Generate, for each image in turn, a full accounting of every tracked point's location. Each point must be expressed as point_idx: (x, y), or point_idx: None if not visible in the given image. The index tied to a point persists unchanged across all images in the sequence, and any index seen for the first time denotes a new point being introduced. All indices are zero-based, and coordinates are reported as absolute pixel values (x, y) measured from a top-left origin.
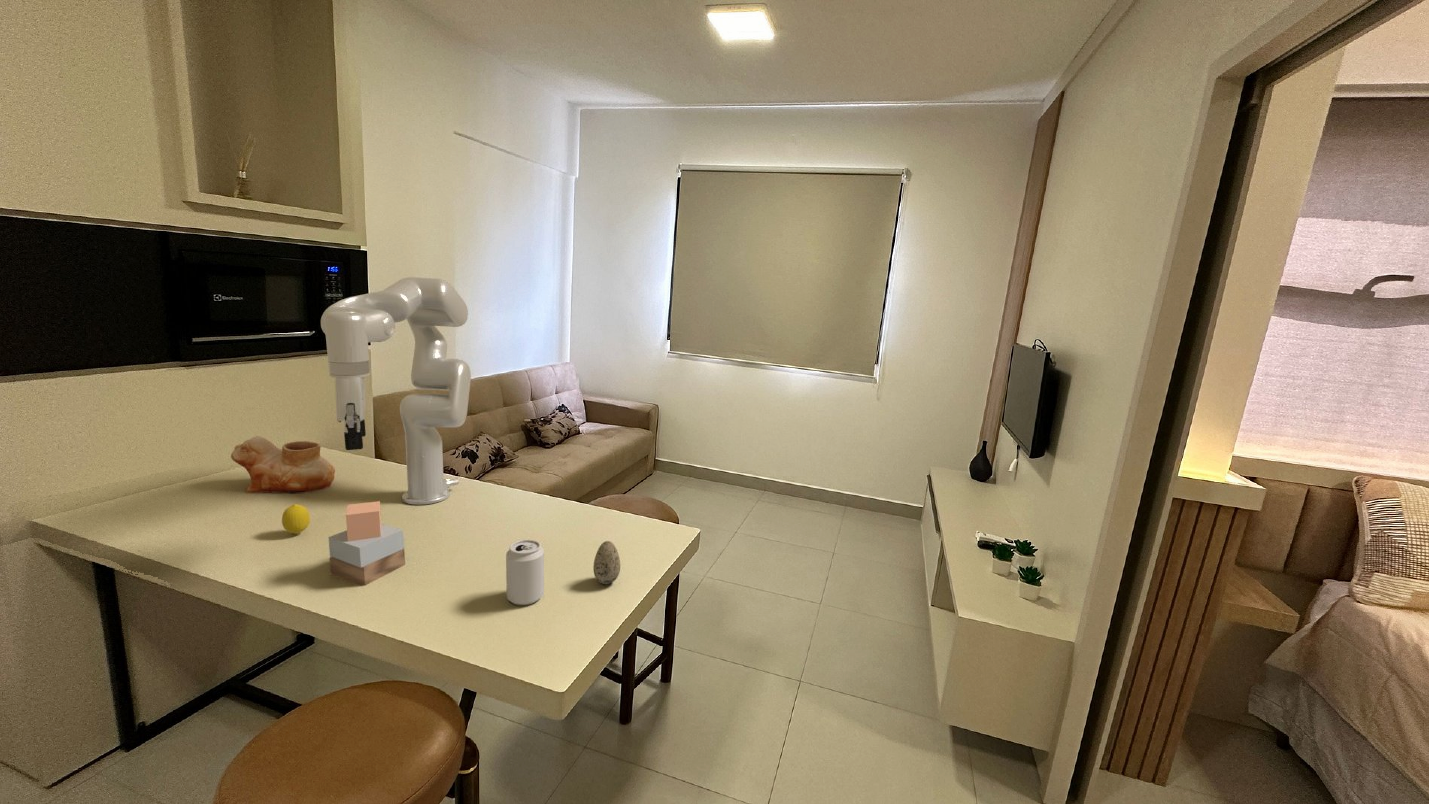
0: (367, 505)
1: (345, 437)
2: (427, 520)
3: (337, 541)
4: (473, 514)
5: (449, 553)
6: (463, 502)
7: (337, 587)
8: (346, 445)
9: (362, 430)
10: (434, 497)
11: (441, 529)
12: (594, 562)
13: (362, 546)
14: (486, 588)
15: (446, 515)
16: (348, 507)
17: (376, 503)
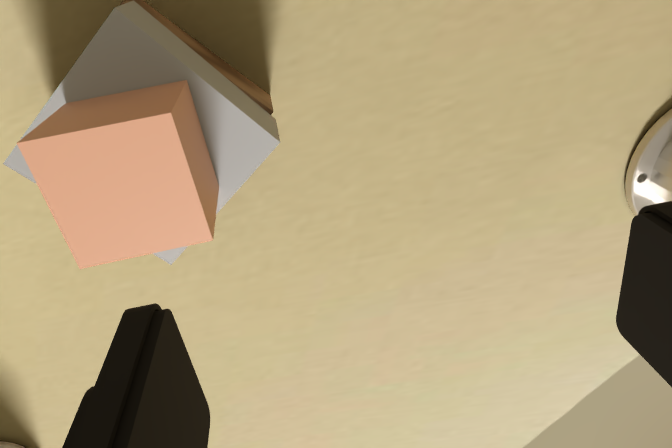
0: (158, 203)
1: (83, 442)
2: (497, 199)
3: (81, 55)
4: (495, 306)
5: (248, 293)
6: (596, 269)
7: (47, 43)
8: (116, 351)
9: (664, 360)
10: (652, 198)
11: (415, 247)
12: None
13: (18, 169)
14: (43, 395)
15: (515, 242)
16: (129, 125)
17: (182, 234)
